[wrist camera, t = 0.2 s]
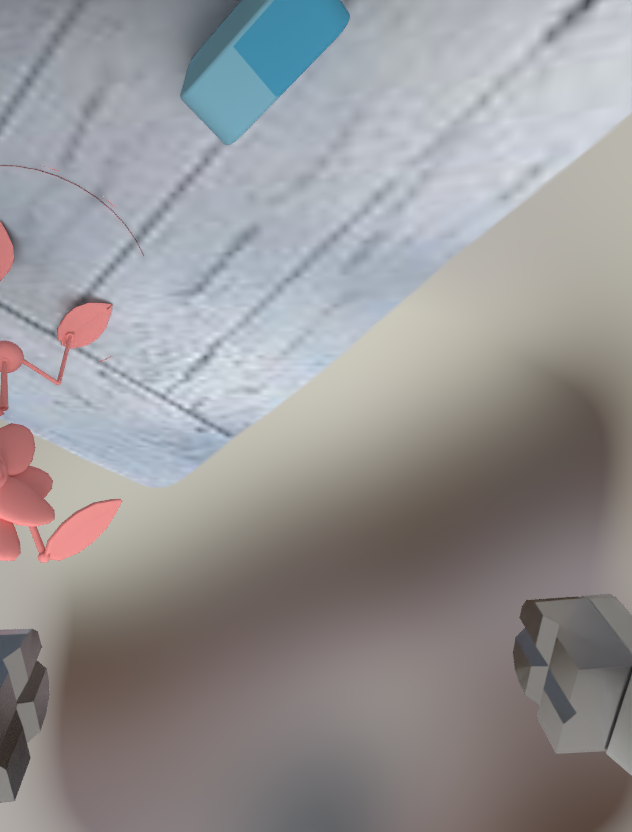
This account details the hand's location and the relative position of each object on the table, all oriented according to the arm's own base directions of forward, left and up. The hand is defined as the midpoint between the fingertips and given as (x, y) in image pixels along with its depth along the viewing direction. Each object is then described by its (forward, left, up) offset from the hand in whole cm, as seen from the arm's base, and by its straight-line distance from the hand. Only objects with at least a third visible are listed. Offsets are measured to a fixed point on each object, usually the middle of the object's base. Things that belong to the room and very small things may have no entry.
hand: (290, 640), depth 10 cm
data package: (-1, 0, -52) cm, 52 cm away
